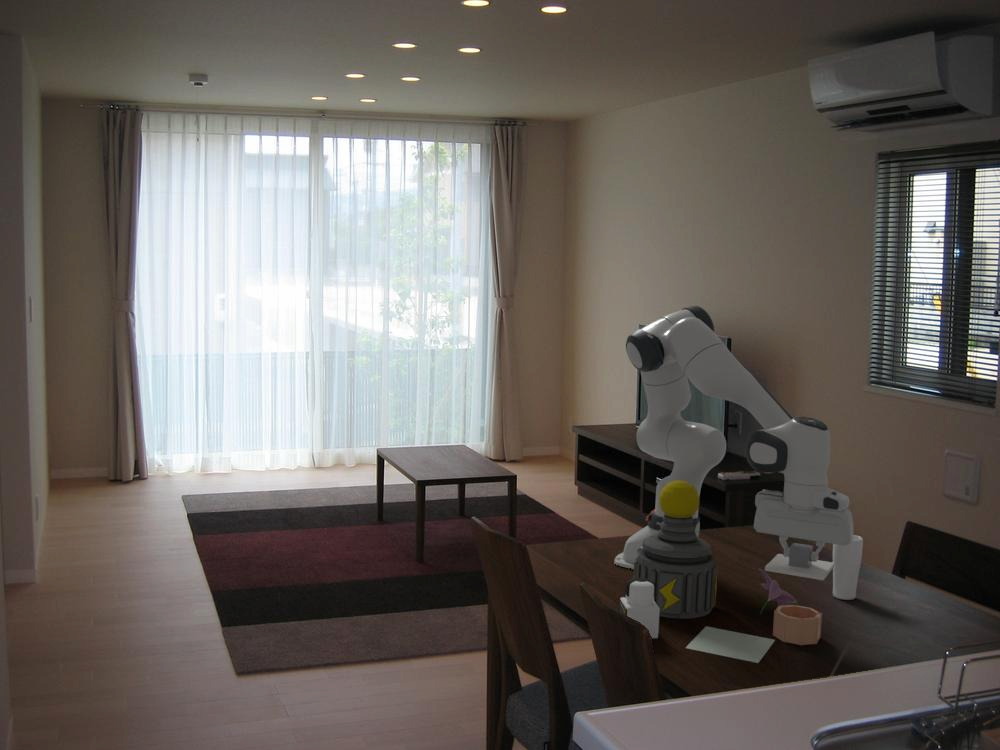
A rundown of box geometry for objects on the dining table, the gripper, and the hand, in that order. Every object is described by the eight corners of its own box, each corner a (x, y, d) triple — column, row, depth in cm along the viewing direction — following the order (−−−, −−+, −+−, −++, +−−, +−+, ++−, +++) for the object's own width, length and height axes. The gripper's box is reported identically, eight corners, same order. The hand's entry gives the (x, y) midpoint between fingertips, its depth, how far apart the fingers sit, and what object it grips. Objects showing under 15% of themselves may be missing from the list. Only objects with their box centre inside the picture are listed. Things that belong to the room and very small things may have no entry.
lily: (795, 630, 233) (812, 590, 235) (746, 605, 235) (764, 566, 236) (782, 628, 245) (799, 590, 247) (736, 604, 246) (753, 567, 248)
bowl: (769, 641, 222) (771, 614, 222) (779, 628, 230) (780, 602, 230) (814, 650, 218) (816, 622, 217) (822, 636, 226) (824, 610, 226)
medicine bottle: (618, 628, 227) (620, 574, 226) (650, 628, 228) (653, 575, 226) (624, 640, 220) (627, 585, 218) (658, 640, 220) (661, 585, 219)
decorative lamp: (717, 600, 248) (725, 476, 245) (711, 626, 230) (719, 493, 227) (638, 591, 253) (644, 469, 250) (626, 616, 235) (632, 485, 232)
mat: (685, 650, 215) (685, 647, 215) (705, 628, 229) (706, 626, 229) (758, 665, 209) (758, 662, 208) (775, 642, 222) (775, 639, 222)
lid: (764, 570, 220) (766, 548, 219) (777, 557, 230) (779, 535, 230) (823, 580, 214) (825, 557, 214) (834, 566, 225) (835, 544, 224)
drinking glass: (860, 603, 250) (865, 541, 249) (830, 600, 252) (835, 539, 250) (856, 594, 257) (861, 534, 255) (827, 591, 258) (832, 532, 257)
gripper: (752, 490, 223) (748, 554, 224) (852, 504, 213) (847, 570, 215) (759, 485, 228) (755, 547, 230) (857, 498, 219) (852, 563, 220)
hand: (800, 558), depth 222 cm, fingers closed on lid, 4 cm apart
